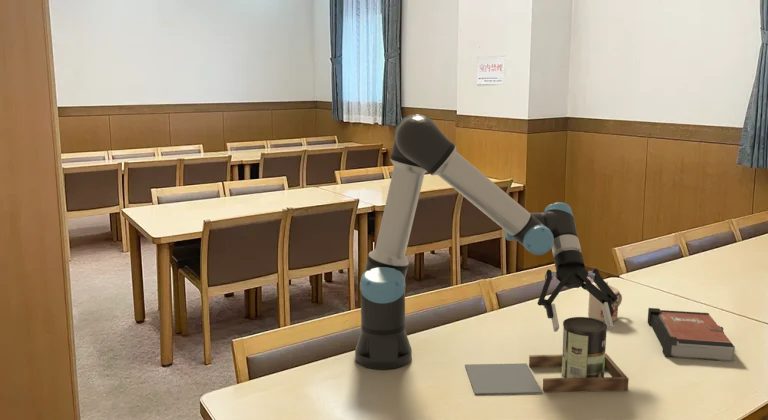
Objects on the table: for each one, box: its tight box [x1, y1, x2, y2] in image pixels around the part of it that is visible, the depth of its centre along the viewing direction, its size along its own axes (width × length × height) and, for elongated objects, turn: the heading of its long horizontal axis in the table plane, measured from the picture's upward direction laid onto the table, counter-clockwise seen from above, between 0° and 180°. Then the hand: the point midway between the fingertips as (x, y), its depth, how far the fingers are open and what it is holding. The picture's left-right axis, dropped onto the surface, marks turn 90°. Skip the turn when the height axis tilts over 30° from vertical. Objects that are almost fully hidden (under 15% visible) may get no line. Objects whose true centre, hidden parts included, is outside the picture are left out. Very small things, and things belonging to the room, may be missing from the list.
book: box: [647, 307, 736, 363], centre depth 183 cm, size 26×18×5 cm
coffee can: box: [560, 316, 608, 378], centre depth 159 cm, size 10×10×14 cm
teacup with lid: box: [587, 280, 623, 323], centre depth 201 cm, size 12×9×12 cm
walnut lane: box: [528, 353, 629, 393], centre depth 160 cm, size 20×15×3 cm
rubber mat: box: [464, 362, 544, 396], centre depth 160 cm, size 16×16×1 cm
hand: (583, 329), depth 163 cm, fingers open, 13 cm apart
